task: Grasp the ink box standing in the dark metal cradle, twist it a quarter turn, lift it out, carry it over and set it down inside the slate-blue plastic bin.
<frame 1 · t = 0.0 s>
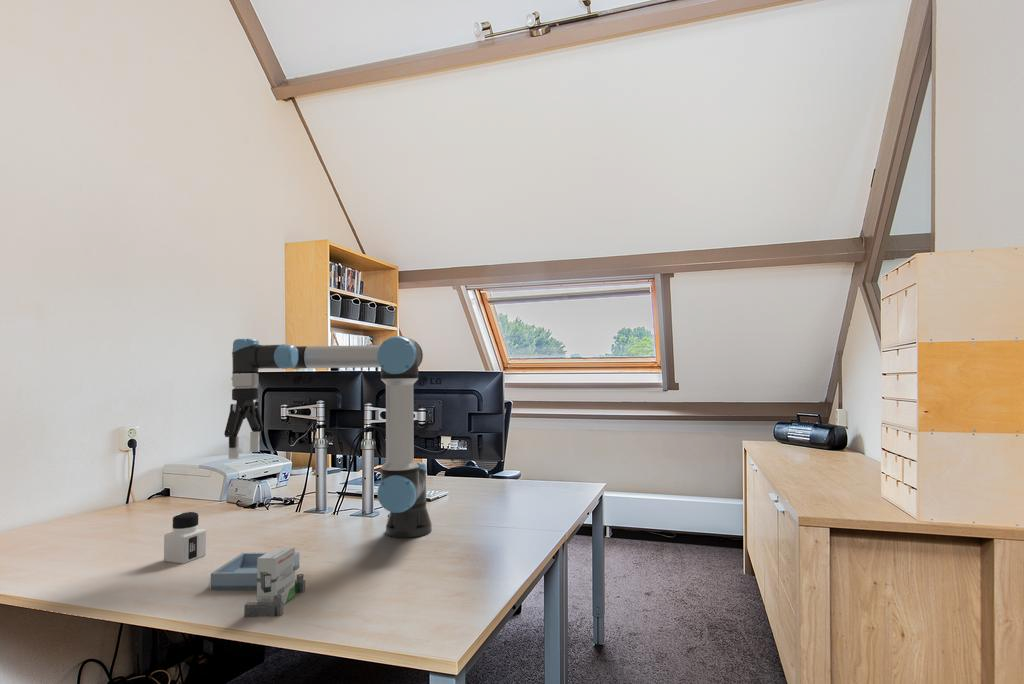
hand: (244, 455, 176), 28 cm above the table, fingers open, 13 cm apart
bin: (257, 577, 147), on the table
container: (185, 559, 163), on the table
ink box: (276, 603, 131), on the table
cradle: (276, 602, 131), on the table
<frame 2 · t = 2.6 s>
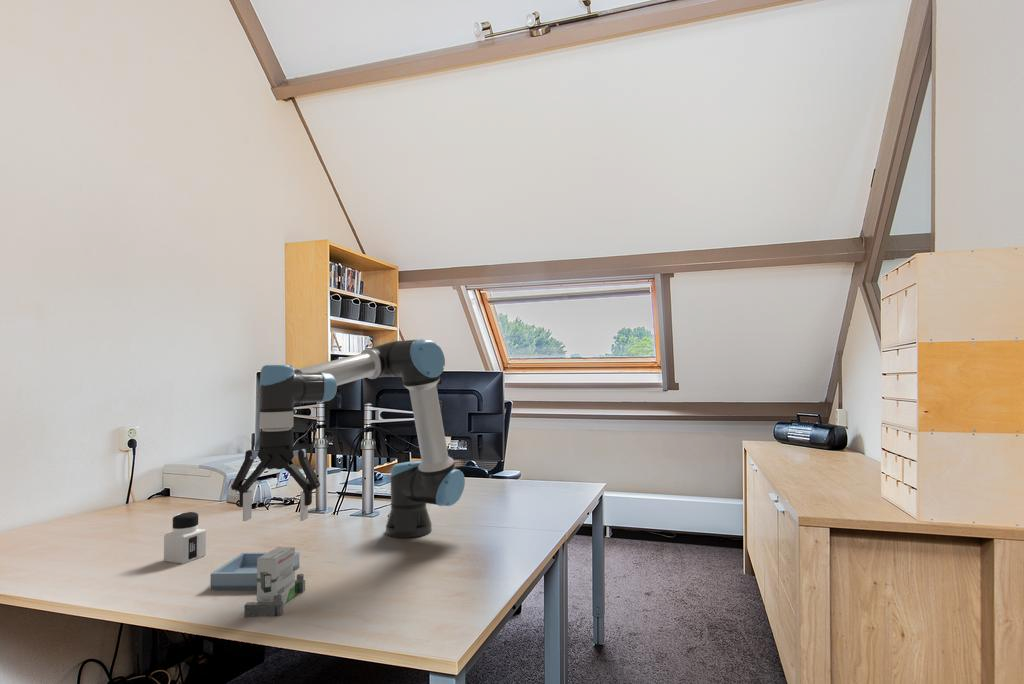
hand: (275, 519, 133), 19 cm above the table, fingers open, 13 cm apart
nothing on the table moved.
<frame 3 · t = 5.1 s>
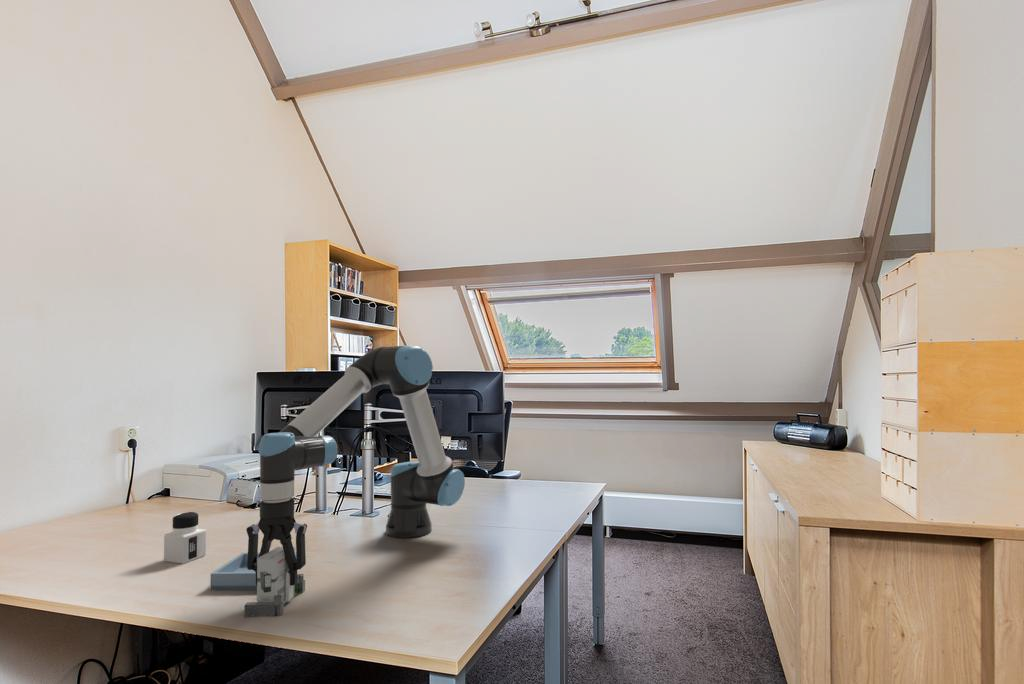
hand: (276, 599, 131), 1 cm above the table, fingers closed on ink box, 5 cm apart
ink box: (276, 603, 131), on the table, touching gripper
everything else where it was.
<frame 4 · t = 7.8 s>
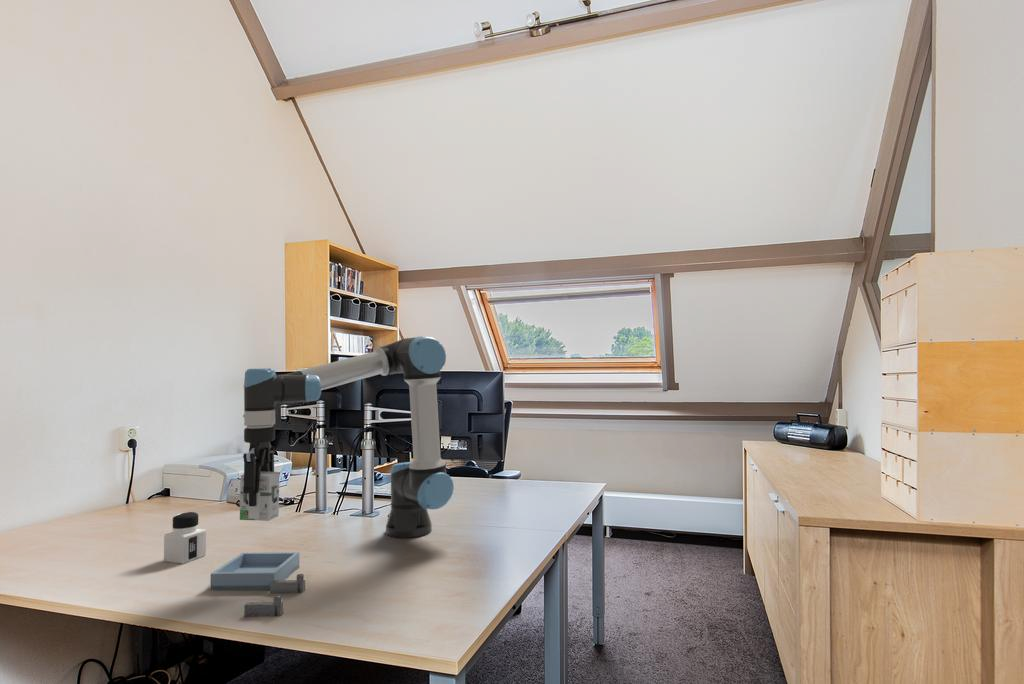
hand: (259, 514, 147), 16 cm above the table, fingers closed on ink box, 5 cm apart
ink box: (259, 519, 147), point 15 cm above the table, touching gripper
everything else where it was.
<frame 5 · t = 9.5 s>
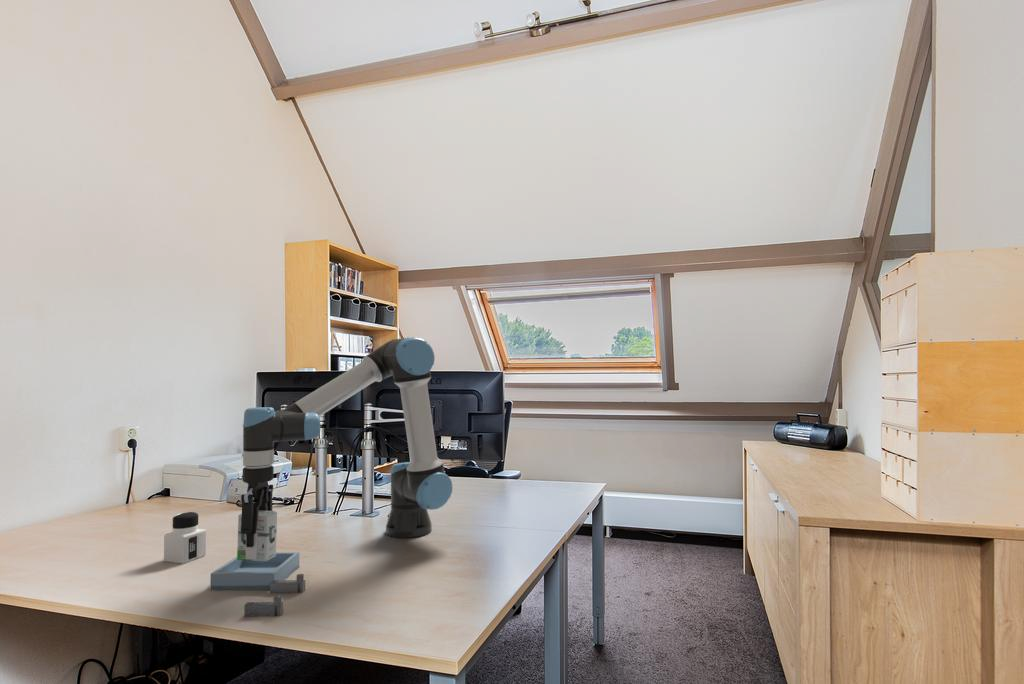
hand: (256, 554, 147), 6 cm above the table, fingers closed on ink box, 5 cm apart
ink box: (256, 558, 147), point 5 cm above the table, touching gripper
everything else where it was.
when the fingers open (3 cm above the table, at t = 10.7 s): ink box drops 1 cm, resting on bin.
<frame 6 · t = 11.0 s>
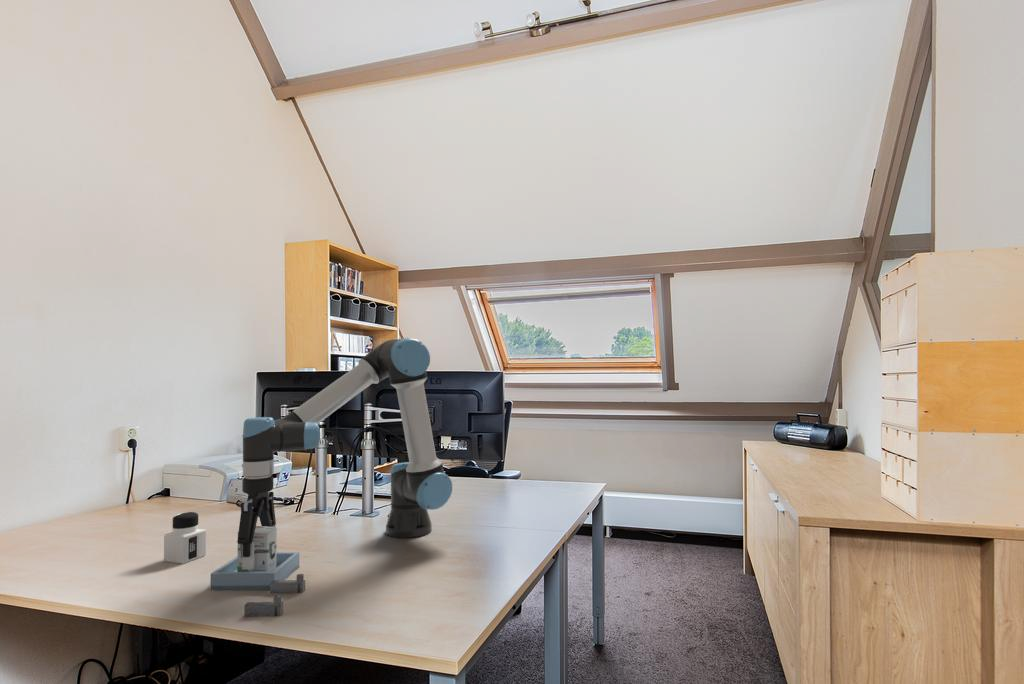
hand: (257, 562, 147), 4 cm above the table, fingers open, 9 cm apart
ink box: (257, 574, 147), point 1 cm above the table, touching bin
everything else where it was.
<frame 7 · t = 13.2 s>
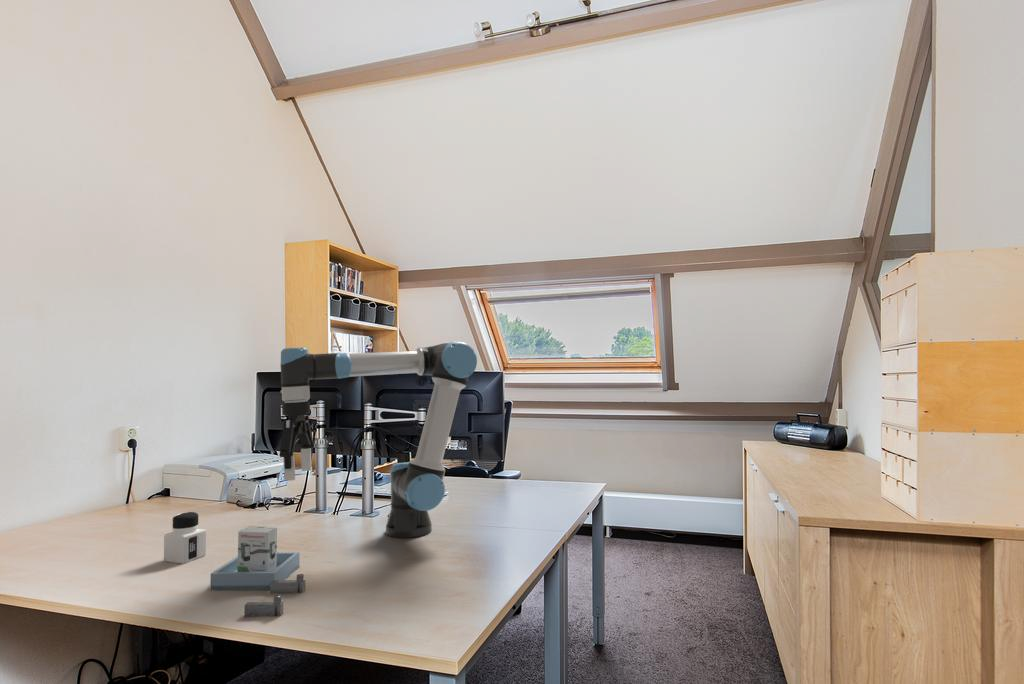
hand: (298, 475, 161), 24 cm above the table, fingers open, 13 cm apart
nothing on the table moved.
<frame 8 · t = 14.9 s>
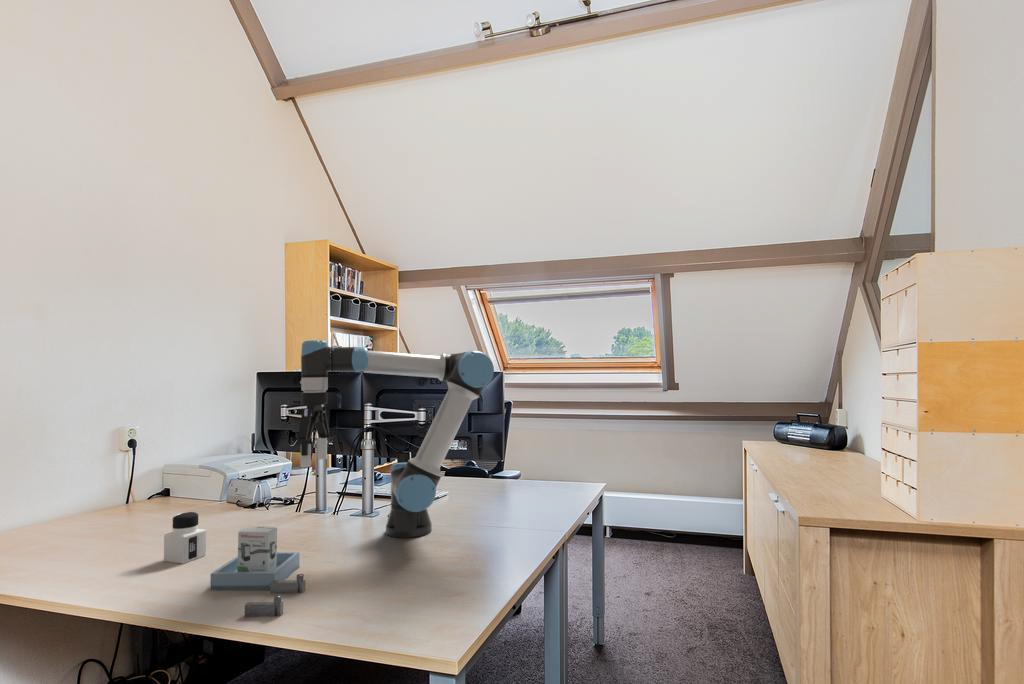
hand: (314, 463, 167), 27 cm above the table, fingers open, 13 cm apart
nothing on the table moved.
at the end: ink box inside the target area on the bin (0.2 cm from its centre), point 0.8 cm above the bin's base; the gripper is holding nothing; ink box moved 19.8 cm from its start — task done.
